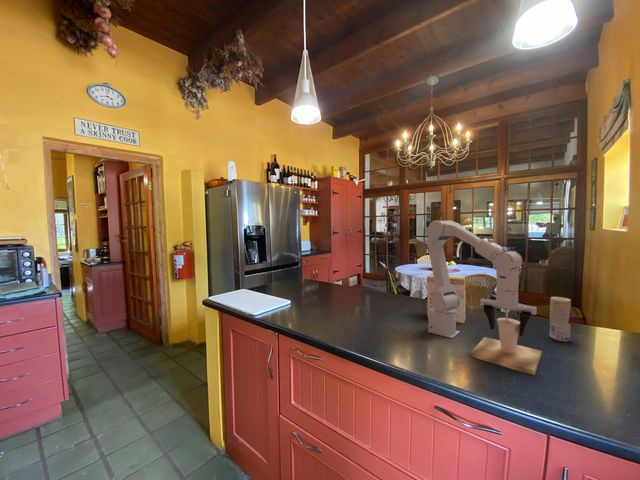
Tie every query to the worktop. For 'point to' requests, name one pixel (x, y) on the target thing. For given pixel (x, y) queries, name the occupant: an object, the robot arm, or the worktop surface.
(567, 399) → the worktop surface
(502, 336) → the smoothie
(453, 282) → the coffeecake box
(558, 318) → the beverage can
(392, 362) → the worktop surface
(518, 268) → the robot arm
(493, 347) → the base board
